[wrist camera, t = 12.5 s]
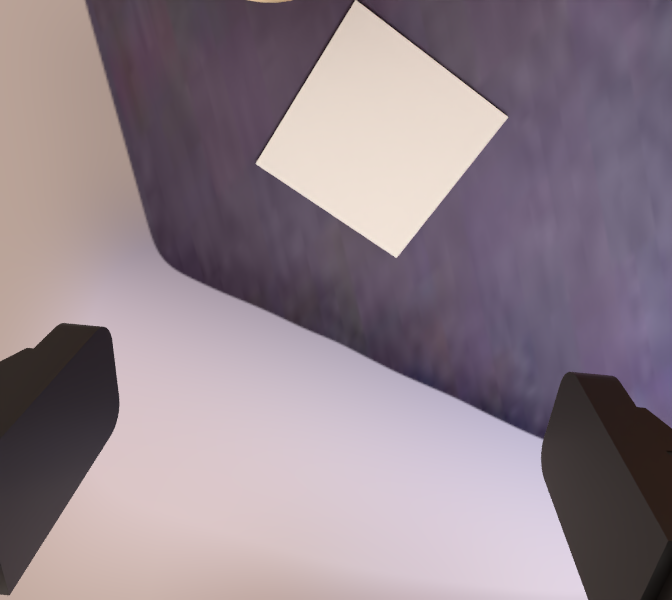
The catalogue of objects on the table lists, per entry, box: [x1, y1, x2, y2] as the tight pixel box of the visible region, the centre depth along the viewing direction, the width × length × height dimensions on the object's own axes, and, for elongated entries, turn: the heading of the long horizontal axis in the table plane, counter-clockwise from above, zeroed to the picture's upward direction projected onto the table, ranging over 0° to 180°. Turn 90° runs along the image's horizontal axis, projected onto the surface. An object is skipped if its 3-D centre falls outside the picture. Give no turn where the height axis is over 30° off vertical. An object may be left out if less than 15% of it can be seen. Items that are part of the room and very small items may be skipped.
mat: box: [256, 0, 508, 258], centre depth 41 cm, size 13×13×1 cm
